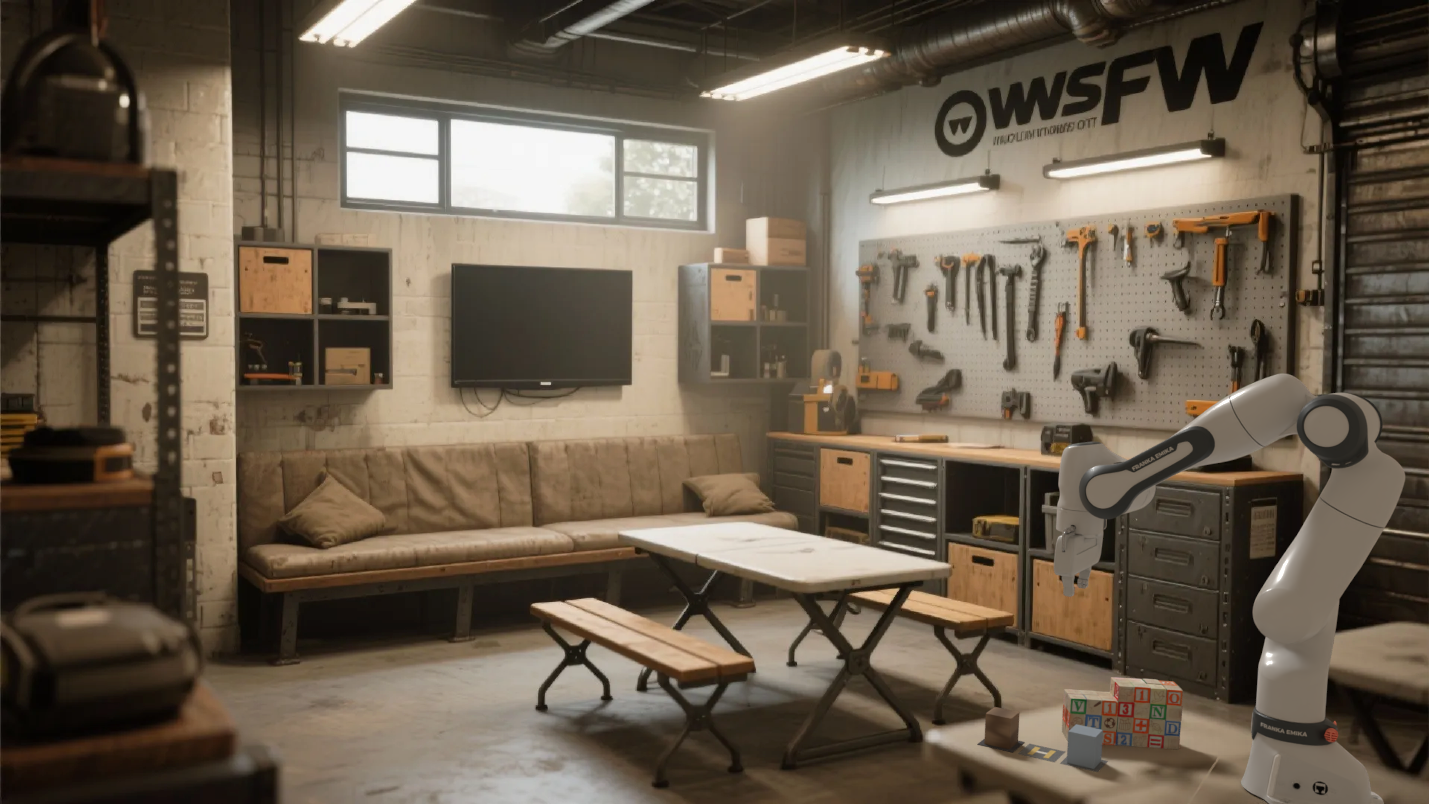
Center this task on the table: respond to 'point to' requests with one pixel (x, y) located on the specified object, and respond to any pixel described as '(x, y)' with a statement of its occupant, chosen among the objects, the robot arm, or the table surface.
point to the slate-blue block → (1084, 746)
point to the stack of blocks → (1128, 712)
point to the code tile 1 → (1041, 752)
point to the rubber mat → (1002, 748)
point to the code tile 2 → (1086, 767)
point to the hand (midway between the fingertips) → (1075, 591)
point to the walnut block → (1001, 728)
